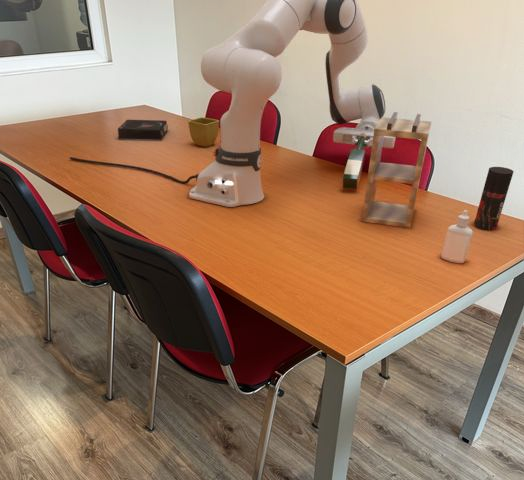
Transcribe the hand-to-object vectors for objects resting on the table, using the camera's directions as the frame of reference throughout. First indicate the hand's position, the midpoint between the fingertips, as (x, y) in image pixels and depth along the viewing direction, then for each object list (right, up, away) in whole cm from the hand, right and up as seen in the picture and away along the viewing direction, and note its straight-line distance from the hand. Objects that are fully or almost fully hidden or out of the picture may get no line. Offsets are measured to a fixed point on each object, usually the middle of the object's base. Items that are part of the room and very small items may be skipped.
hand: (360, 143), depth 164 cm
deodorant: (+29, -32, -24) cm, 50 cm away
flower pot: (-54, +14, +37) cm, 67 cm away
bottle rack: (+4, -28, -19) cm, 34 cm away
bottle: (-1, -7, 0) cm, 7 cm away
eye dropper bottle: (+14, -44, -41) cm, 62 cm away
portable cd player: (-80, +23, +48) cm, 96 cm away
